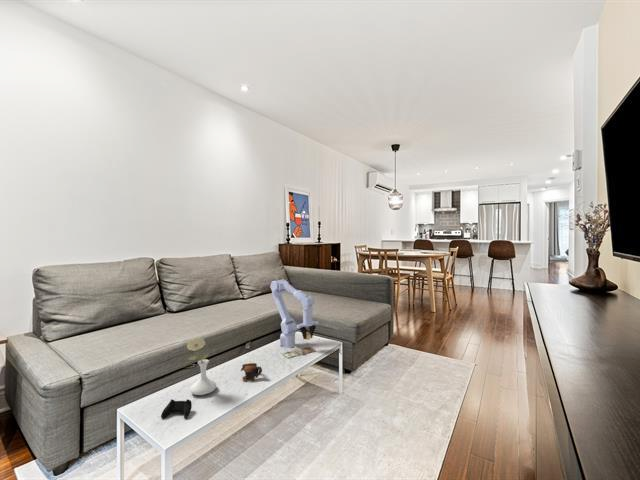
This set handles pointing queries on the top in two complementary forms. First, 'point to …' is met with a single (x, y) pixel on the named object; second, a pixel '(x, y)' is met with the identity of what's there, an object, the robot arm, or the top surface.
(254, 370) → the pottery mug
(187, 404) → the gaming controller
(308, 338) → the ball
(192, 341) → the flower in vase
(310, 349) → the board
